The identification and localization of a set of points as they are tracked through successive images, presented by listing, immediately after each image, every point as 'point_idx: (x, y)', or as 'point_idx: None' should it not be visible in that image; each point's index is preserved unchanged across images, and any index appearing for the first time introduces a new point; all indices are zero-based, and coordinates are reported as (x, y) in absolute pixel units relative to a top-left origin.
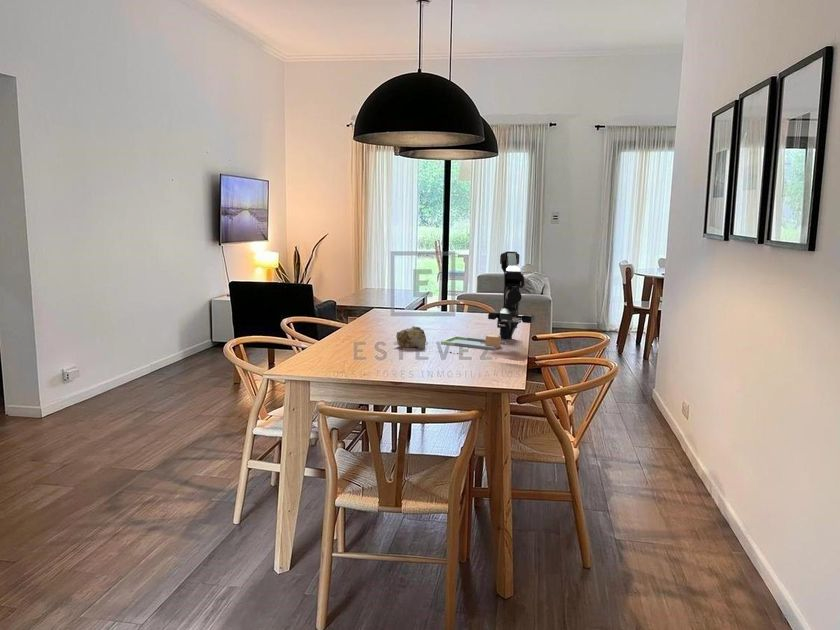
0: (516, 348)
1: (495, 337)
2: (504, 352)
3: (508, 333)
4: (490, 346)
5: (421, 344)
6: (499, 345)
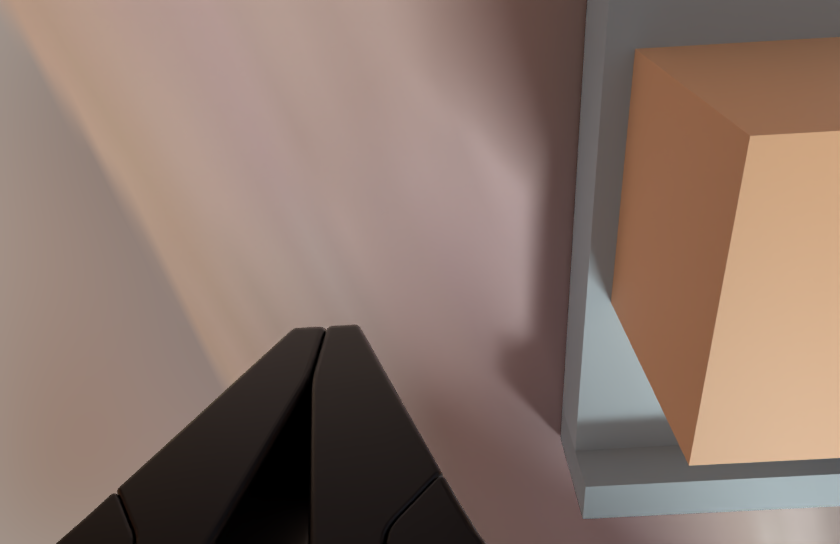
0: None
1: (802, 129)
2: (417, 40)
3: (361, 384)
4: (805, 42)
5: None
6: (622, 255)
